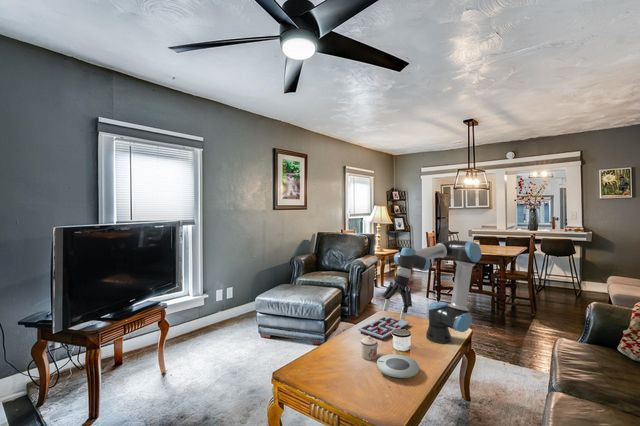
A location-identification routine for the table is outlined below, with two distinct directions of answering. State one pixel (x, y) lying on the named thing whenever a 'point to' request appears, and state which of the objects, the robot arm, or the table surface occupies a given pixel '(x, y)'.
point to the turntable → (397, 366)
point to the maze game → (382, 327)
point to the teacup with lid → (369, 348)
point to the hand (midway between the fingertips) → (393, 314)
